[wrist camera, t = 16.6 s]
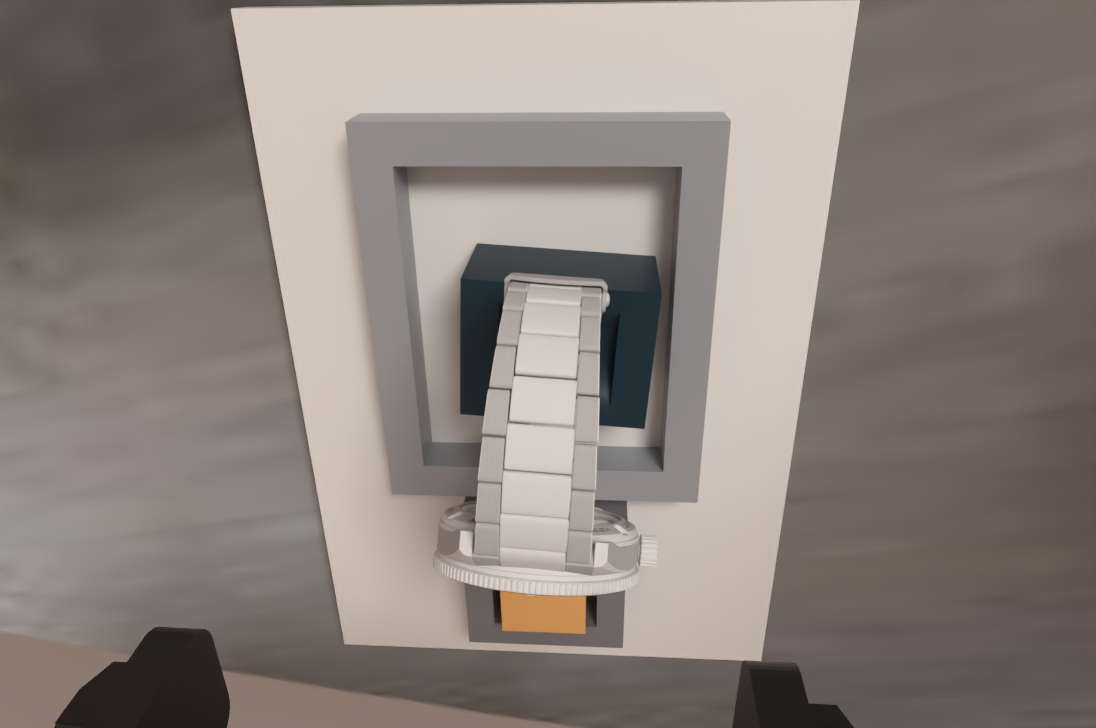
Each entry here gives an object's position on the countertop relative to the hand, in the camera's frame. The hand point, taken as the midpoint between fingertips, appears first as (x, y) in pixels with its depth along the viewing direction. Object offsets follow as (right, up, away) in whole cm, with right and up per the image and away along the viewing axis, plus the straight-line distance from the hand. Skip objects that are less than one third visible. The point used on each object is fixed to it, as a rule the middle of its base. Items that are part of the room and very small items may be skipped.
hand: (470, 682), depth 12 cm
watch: (+2, +6, +14) cm, 15 cm away
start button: (+1, -3, +18) cm, 18 cm away
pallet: (+1, +4, +16) cm, 16 cm away
